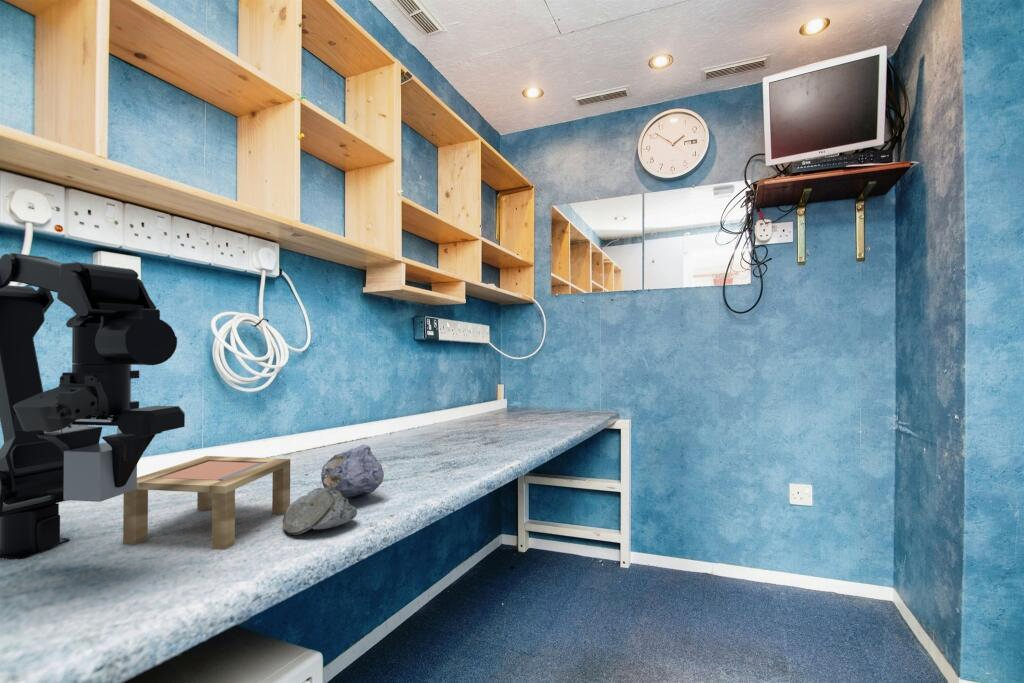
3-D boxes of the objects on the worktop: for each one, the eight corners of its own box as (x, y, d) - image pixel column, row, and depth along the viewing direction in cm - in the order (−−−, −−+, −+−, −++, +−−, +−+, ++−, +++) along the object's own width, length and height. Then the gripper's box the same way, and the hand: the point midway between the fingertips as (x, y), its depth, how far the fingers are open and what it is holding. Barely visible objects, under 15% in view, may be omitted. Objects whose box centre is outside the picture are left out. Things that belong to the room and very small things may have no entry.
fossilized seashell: (283, 501, 80) (319, 463, 77) (330, 519, 84) (365, 485, 82) (270, 550, 72) (310, 510, 69) (323, 568, 76) (362, 531, 73)
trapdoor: (159, 483, 72) (159, 476, 72) (209, 466, 82) (209, 460, 82) (224, 486, 71) (224, 479, 71) (266, 468, 81) (266, 462, 81)
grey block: (63, 500, 58) (63, 451, 58) (103, 487, 63) (103, 442, 63) (99, 501, 58) (100, 452, 58) (136, 489, 63) (137, 443, 63)
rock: (358, 488, 96) (359, 438, 96) (390, 499, 89) (390, 446, 89) (307, 502, 87) (307, 448, 87) (337, 515, 81) (337, 457, 81)
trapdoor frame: (123, 543, 69) (123, 481, 69) (205, 506, 85) (206, 455, 85) (224, 549, 67) (225, 486, 67) (290, 510, 83) (290, 458, 83)
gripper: (-41, 365, 54) (-42, 504, 54) (107, 367, 52) (106, 511, 52) (63, 361, 65) (62, 476, 65) (188, 363, 63) (187, 481, 63)
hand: (101, 485), depth 61 cm, fingers closed on grey block, 5 cm apart
